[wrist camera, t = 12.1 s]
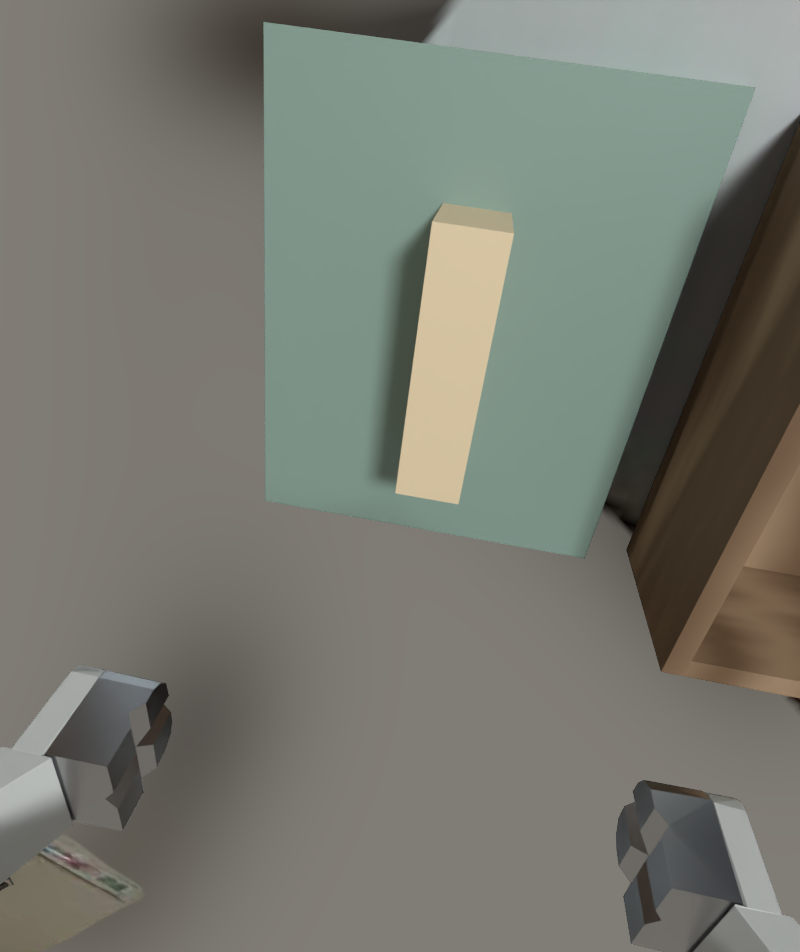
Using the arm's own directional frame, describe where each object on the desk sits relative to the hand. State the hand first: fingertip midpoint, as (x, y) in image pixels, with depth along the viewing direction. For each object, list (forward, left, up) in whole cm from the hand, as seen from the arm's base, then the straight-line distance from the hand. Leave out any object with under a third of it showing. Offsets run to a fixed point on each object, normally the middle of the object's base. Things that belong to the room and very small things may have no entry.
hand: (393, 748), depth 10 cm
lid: (0, 0, -24) cm, 24 cm away
